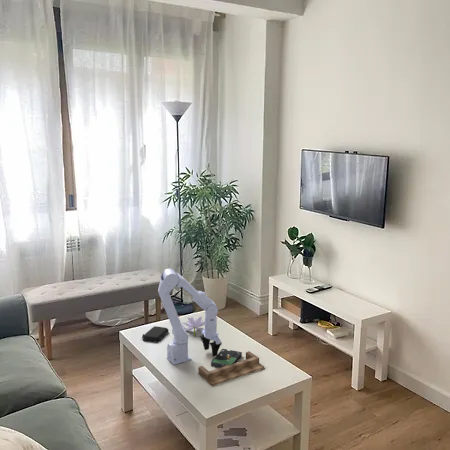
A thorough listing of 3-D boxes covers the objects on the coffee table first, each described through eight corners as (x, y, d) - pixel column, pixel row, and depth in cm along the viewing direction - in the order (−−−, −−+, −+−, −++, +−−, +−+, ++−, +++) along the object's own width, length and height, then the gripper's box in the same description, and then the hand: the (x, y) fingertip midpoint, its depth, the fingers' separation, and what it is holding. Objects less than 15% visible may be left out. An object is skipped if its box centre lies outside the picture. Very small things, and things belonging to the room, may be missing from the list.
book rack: (212, 386, 199) (212, 378, 198) (198, 374, 209) (198, 366, 208) (264, 368, 214) (264, 361, 213) (249, 358, 224) (249, 351, 223)
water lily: (188, 343, 254) (188, 327, 260) (213, 338, 250) (213, 322, 255) (175, 333, 244) (176, 317, 249) (201, 327, 239) (201, 311, 244)
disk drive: (222, 353, 229) (210, 367, 216) (222, 348, 229) (210, 361, 215) (242, 357, 226) (231, 371, 212) (242, 351, 225) (231, 365, 212)
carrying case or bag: (152, 329, 256) (139, 340, 242) (151, 324, 255) (139, 335, 241) (170, 332, 253) (158, 343, 239) (169, 327, 252) (157, 338, 238)
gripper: (226, 329, 220) (225, 356, 222) (209, 319, 231) (210, 344, 234) (213, 333, 216) (213, 360, 218) (197, 322, 228) (197, 348, 230)
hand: (210, 352), depth 226 cm, fingers open, 7 cm apart
